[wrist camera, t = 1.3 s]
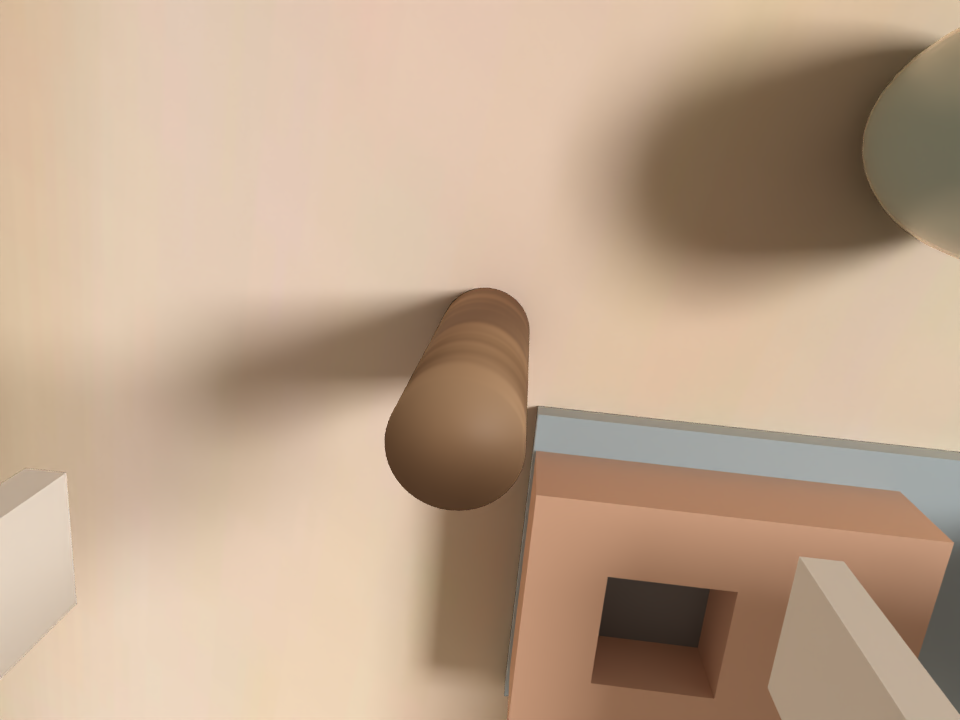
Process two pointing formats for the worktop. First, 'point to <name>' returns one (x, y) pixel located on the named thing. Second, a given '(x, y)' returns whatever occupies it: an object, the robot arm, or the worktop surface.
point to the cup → (920, 146)
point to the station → (713, 561)
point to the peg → (465, 406)
